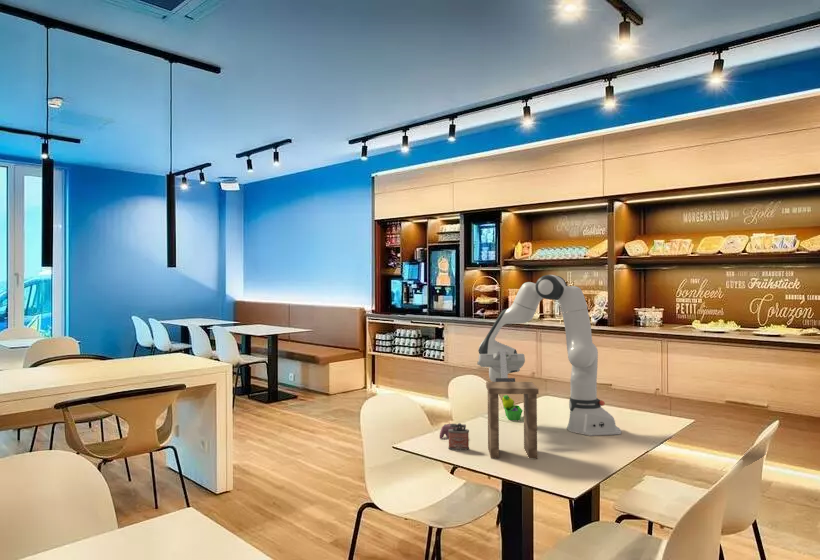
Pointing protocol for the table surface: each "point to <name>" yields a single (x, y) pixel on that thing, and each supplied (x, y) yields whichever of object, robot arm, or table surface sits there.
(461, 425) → the lighter
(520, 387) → the walnut shelf
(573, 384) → the robot arm
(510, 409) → the fruit basket
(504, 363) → the steel t handle
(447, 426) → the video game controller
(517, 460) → the table surface
